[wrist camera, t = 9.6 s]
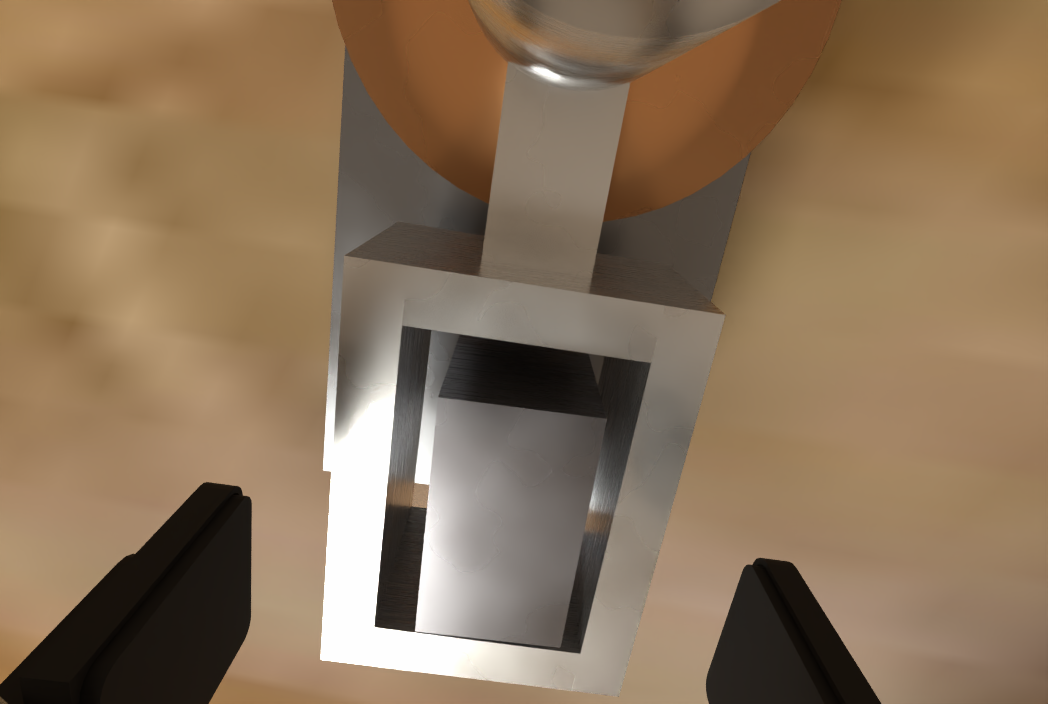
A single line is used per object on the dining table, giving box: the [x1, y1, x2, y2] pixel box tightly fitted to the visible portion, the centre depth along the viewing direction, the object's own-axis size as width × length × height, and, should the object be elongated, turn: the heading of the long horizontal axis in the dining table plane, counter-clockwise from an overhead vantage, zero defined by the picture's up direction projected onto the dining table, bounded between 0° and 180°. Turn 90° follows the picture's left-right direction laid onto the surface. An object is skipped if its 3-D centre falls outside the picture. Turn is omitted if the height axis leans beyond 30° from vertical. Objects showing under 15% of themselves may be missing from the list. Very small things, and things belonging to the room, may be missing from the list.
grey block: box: [415, 334, 607, 648], centre depth 17 cm, size 6×3×10 cm, turn 172°
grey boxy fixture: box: [321, 0, 842, 697], centre depth 14 cm, size 22×13×15 cm, turn 171°
